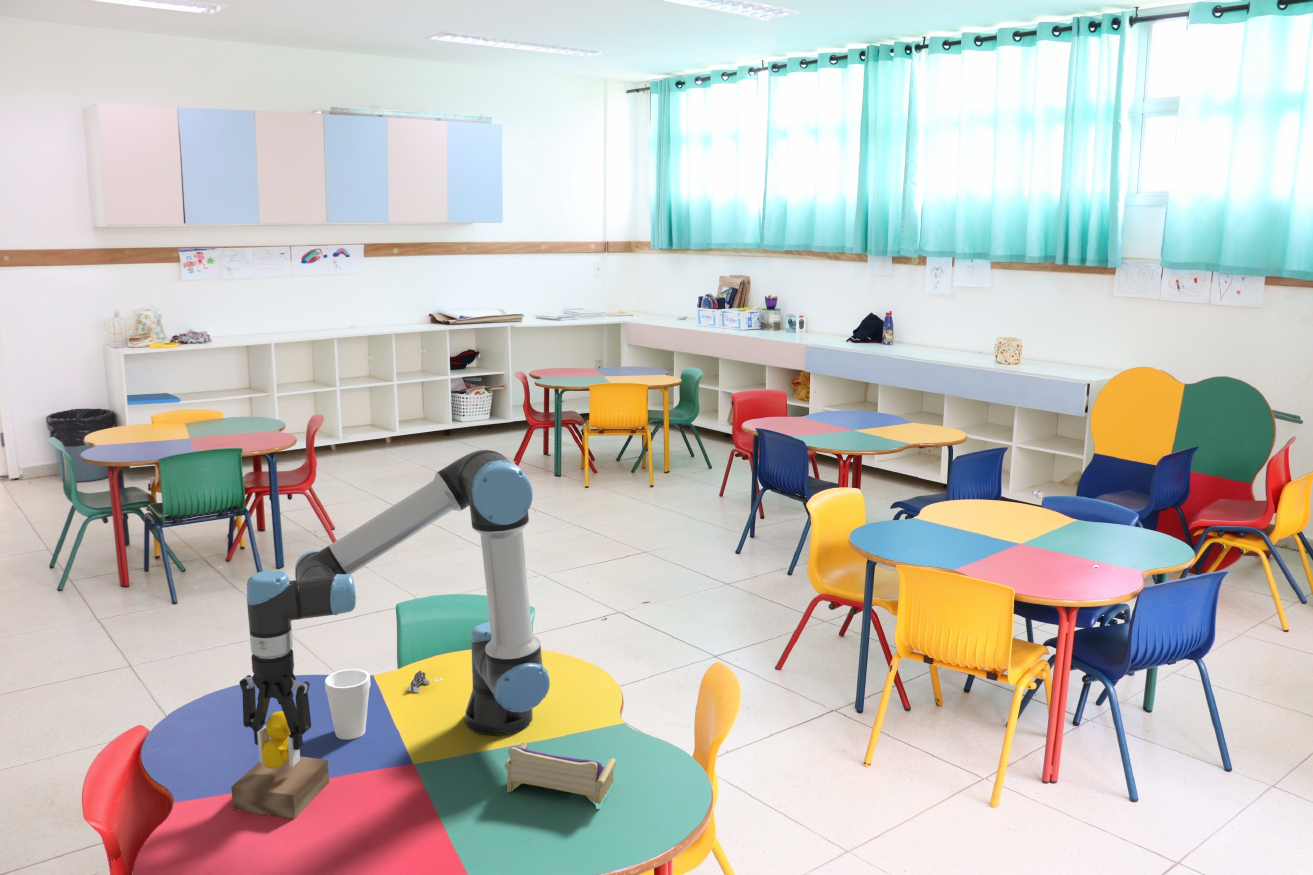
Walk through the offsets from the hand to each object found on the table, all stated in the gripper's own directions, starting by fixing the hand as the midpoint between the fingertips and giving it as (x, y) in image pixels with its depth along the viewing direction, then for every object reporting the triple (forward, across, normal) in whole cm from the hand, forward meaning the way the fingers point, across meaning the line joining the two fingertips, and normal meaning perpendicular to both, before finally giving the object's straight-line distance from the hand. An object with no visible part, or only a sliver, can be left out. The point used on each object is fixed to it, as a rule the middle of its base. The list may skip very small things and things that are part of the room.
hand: (279, 761), depth 200 cm
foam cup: (+8, +1, +26) cm, 27 cm away
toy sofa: (+8, +53, +14) cm, 55 cm away
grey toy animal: (+8, +7, +54) cm, 55 cm away
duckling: (0, 0, 0) cm, 0 cm away
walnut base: (+8, 0, 0) cm, 8 cm away
